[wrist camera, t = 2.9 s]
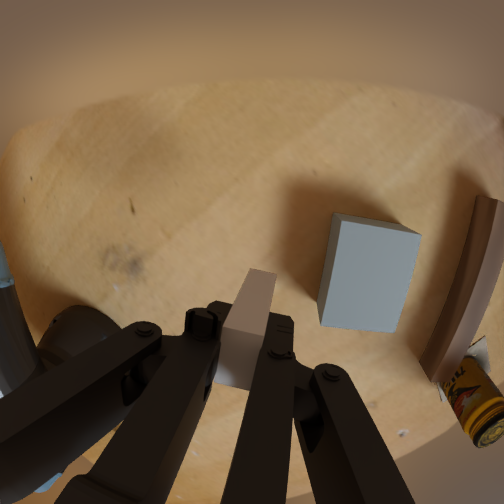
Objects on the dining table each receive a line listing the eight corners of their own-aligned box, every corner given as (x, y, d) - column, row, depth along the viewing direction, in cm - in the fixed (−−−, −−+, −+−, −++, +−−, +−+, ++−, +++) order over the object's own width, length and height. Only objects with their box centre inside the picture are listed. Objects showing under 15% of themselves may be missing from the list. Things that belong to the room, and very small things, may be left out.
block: (316, 301, 29) (320, 325, 24) (332, 212, 26) (341, 220, 22) (380, 309, 28) (394, 333, 23) (401, 224, 26) (421, 234, 21)
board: (419, 361, 29) (430, 381, 25) (476, 195, 23) (498, 199, 19) (437, 363, 29) (449, 382, 25) (494, 203, 23) (516, 208, 19)
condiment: (432, 371, 29) (468, 437, 18) (484, 335, 27) (532, 389, 15) (442, 401, 30) (470, 462, 19) (489, 369, 28) (527, 422, 17)
